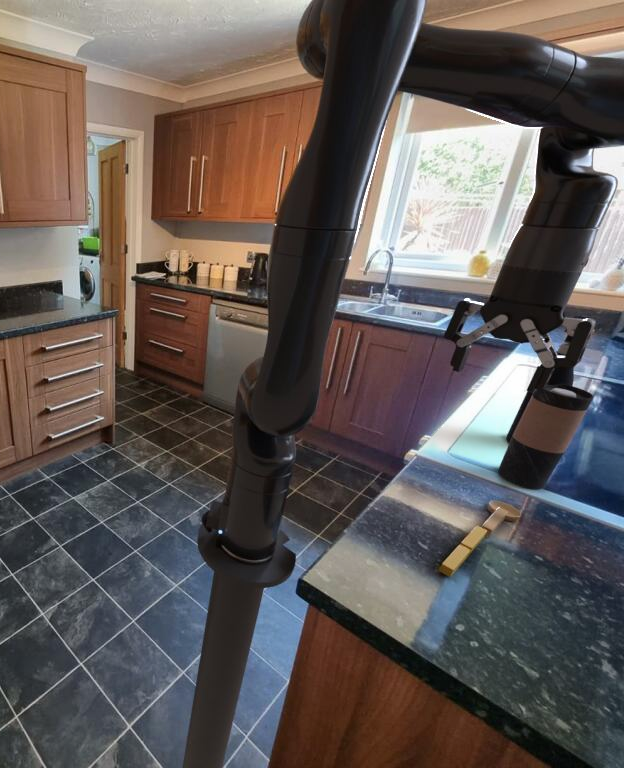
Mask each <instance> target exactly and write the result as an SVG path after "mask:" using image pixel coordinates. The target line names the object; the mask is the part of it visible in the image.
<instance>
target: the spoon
mask: <svg viewBox="0 0 624 768" xmlns="http://www.w3.org/2000/svg"><path fill="white" fill-rule="evenodd" d="M486 508H487V511H488V512H489V513H491V515H490V516H489V517H488V518H487V519H486V521H484V523H483V524H482V525H481V526H480V527H481V528H483V529H485V530H487V533H486V535H485V537H486V538H490V537H491V536H492V535H493V533H494V532H495V531H496V530H497V528H498V527H499V526H500V525H501V524H502V522H504V520H505V521H508V522H517V521H519V520H520V518H521V516H522V513H521V511H520V510H519V509H518V508H517V507H514V506H513V505H511V504H509V503H506V502H504V501H500V500H491V501H489V502H488V504H487V507H486Z"/></svg>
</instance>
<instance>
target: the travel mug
mask: <svg viewBox="0 0 624 768" xmlns="http://www.w3.org/2000/svg"><path fill="white" fill-rule="evenodd" d="M593 400H594V395H593V394H592V393H591V392H589V391H587V390H585V389H583V388H579V387H577V386H574V385H573V386H570V385H565V384H557V385H546V386H545V387H543V388H542V389H541V390H538V389H537V390H536V391H535V392H534V393H533V395H532V397H531V399H530V401H529V403H528V405H527V407H526V409H525V411H524V413H523V415H522V417H521V419H520V421H519V423H518V425H517V427H516V429H515V431H514V434H513V436H512V438H511V440H510V442H508V445H507V448H506V449H505V453H504V455H503V457H502V460H501V462H500V465H499V467H498V470H497V474H498V475H499V476H500V477H501V478H502V479H504V480H505V481H507V482H508V483H511V484H513V485H515V486H517V487H521V488H524V489H529V490H542V489H543V488H544V487H545V486H546V484H547V482H548V481H549V479H550V477H551V476H552V474H553V473H554V471H555V469H556V468H557V466H558V464H559V462H560V461H561V459H562V458H563V456H564V455H565V453H566V451H567V449H568V447H569V446H570V444H571V442H572V440H573V438H574V436H575V434H576V432H577V430H578V428H579V426H580V424H581V422H582V421H583V418H584V417H585V415H586V413H587V412H588V409H589V407H590V406H591V403H592V402H593Z"/></svg>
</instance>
